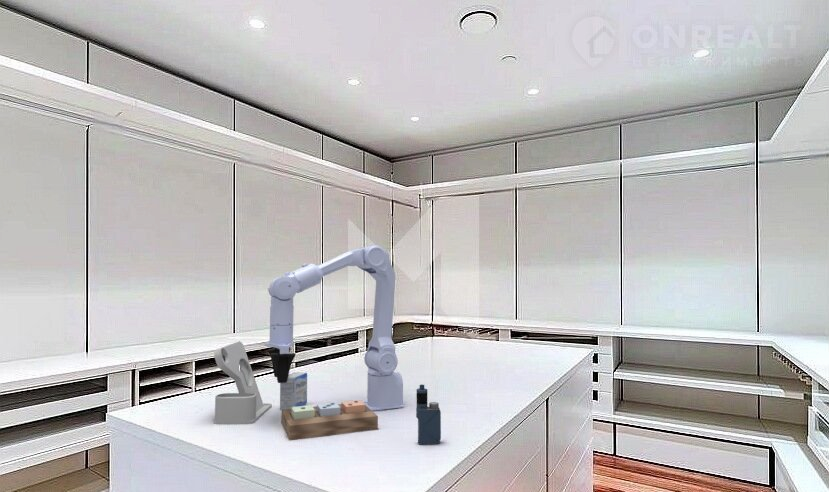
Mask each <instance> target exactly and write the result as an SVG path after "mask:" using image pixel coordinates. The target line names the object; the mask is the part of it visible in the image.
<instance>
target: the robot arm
mask: <svg viewBox="0 0 829 492" xmlns="http://www.w3.org/2000/svg"><path fill="white" fill-rule="evenodd" d="M347 267H357V268H358V269H360V270H362V271H365V272H366V273H367V274H369V276H371V277H372V278H373V279H374V280H375V291H374V292H375V293H374V295H375V296H374V305H373V306H374V308H373V321H372V322H373V323H372V324H373V325H372V337H371V339H370V340H369V341H368V346H367V350H366V352H365V354H364V364H365V366H366V367H367V369H368V370H367V387H366V388H367V391H366V392H367V395H366V396H367V397H366V398H367V400H366V401H364V402H362V403H364V404H365V406H367V407H368V408H369V409H370V410H371V411H373V412H374V411H380V410H381V411H383V410H391V409H400V408H405V405H404V381H403V375H402V374H401V373H400V372H399V371H397V372H395V370H396V369H397V366H398V357H397V354H396V346H395V343H394V341H393V339H392V334H393V333H392V332H393V320H394V319H393V317H394V303H395V302H394V301H395V286H396V272H395V270H394V268H393V265H392V263H391V261H390V253H388V252H387V250H385V249H384V248H383V247H382V246H380V245H377V244H375V245H370V246H364V247H360V248H357V249H353V250H348V251H346V252H344V253H342V254H340V255H338V256H335V257H333V258H331V259H329V260H327V261H325V262H323V263H321V264H319V265H316V264H314V263H309V264H308V263H306V262H305V263H303V264H301V267H299V268H297V269H295V270H293V271H286V272H285V273H284V275H282V276H280V277H279V276H278V277H275V278H274V279H273V280H272V281H271V282H270V284H269V287H268V288H267V291H268V294H269V296H271V297H270V305H269V306H270V307H269V338H268V339H269V341H267V342H264V345H263V346H264V347H269V349H267V352H268V353H269V358H270V359H271V363H272V370H273V376H274V378H276V380H277V383H278V384H280V383H286V382H287V380H288V376H289V374H290V371H291V366H292V365H293V364H292V363H293V360H294V359H295V357H296V353H294V352H293V353H290V352H291V347H293V346H294V345H295V342H294V310H295V309H294V297H295V296H296V294H300V293H303V292H304V291H306V290H308V289H312V288H313V287H315V286H318V285H319V284H321V282H322V280H323V278H324V277H325V276H327V275H330V274H332V273H335V272H337V271H339V270H341V269H345V268H347ZM270 347H271V348H270Z"/></svg>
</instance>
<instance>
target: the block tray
mask: <svg viewBox="0 0 829 492" xmlns="http://www.w3.org/2000/svg"><path fill="white" fill-rule="evenodd" d="M337 404H338V405H339V406H340V415H332V416H323V417H319V415H318V414H317V405H315V406H312V407H313V408H314V409H315V417H314V418H305V419H295V420H293V418H292V416H291V409H285V410H281V412H280V413H281V414H280V415H281V416H280V417H281V418H280V420H281V421H280V424H281V425H282V428H283V429H284V431H285V434H286V436H287V438H288V441H292V440H302V439H310V438H318V437H326V436H333V435H341V434H343V435H344V434H349V433H358V432H359V433H360V432H367V431H373V430H374V431H375V430H378V429H379V416H378V414H376V413H375V412H374V411H371V410H370V409H369V408H368V407H367V406H365V412H360V413H351V414H345V413H344V412H343V411H342V410H341V409H342V403H337Z"/></svg>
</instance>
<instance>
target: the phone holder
mask: <svg viewBox="0 0 829 492" xmlns="http://www.w3.org/2000/svg"><path fill="white" fill-rule="evenodd" d="M213 353H214V354H213V355H214V356H213V357H214V359H215V363H216V366H217V367H218V368H219V369H220V370H221V371H222V372H224V373H225V374H226V375H228V377H230V378H231V379H232V380H233V381H234V382H235V385H236V388H237V392H236V393H235V392H234V393H233V392H226V393H224V392H223V393H219V394H216V395H215V397H214V399H215V401H214V402H215V403H214V419H213V425H253V424H255V423H256V422H257V421H259V420H260V419H261V418H262V417H263V416H264V415H265V414H266V413H267V412H268V411H269V410H270V409H271V408H272V407H273V404H272V403H270V402H269V403H268V402H267V403H264V402H263V399H262V397H261V393H260V389H259V387H258V385H257V381H256V379H255V376H254V372H253V369H252V367H251V366H252V365H251V364H250V360H249V357H248V355H247V352H246V348H245V346H244V344H243V343H242V341H237V342H234V343H231V344H228V345H226V346H222V347H219V348H216V349H215V350H214V352H213Z"/></svg>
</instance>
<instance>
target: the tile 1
mask: <svg viewBox="0 0 829 492" xmlns="http://www.w3.org/2000/svg"><path fill="white" fill-rule="evenodd" d="M313 407H314V406H313V405H310V404H309V405H303V406H298V407H291V416H292V418H293V420H295V419H305V418H314V417H315V409H314V408H313Z"/></svg>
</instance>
